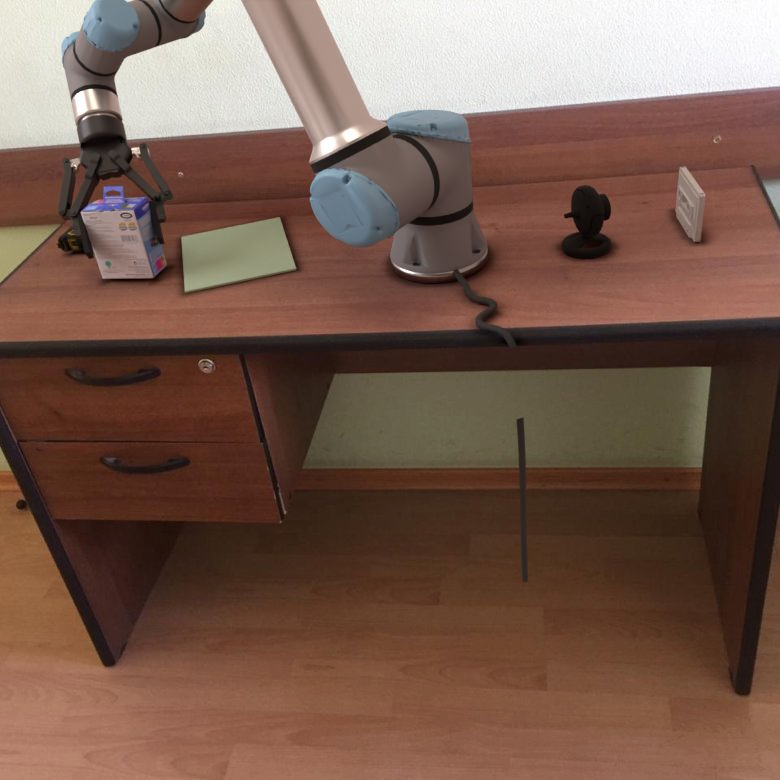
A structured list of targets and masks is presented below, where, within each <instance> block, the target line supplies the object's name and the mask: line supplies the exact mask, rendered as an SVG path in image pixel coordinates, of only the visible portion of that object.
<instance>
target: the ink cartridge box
mask: <svg viewBox="0 0 780 780" xmlns="http://www.w3.org/2000/svg"><path fill="white" fill-rule="evenodd" d="M113 191H115V192H118V193H120V194H119V195H108V193H110V192H113ZM102 197H103V198H102V199H94V200H93V201H92V202H89V203H88V205H87V207H85V208H84V209H83V210H82V211H81V215H82V218H83V221H84V224H85V227H86V230H87V233H88V236H89V239H90V242H91V245H92V250H93V255H94V258H95V260H96V264H97V265H98V270H99V272H100V275H101V278H102V279H103V280H110V279H111V280H112V279H113V280H115V279H116V280H117V279H120V280H121V279H154V278H156V276H158V274H159V273H161V272H162V271H163V270H164V269H165V268H166V267H168V262H167V258H166V256H165V253H164V249H163V244H159V242H158V240H157V237H156V232H155V228H154V223H153V218H152V213H151V209H150V204H149V201H150V200H149V197H148V196H140V197H125V186H124V185H107V186H103V194H102Z"/></svg>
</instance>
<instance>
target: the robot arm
mask: <svg viewBox="0 0 780 780" xmlns="http://www.w3.org/2000/svg"><path fill="white" fill-rule="evenodd" d="M240 1H241V4H242V5H243V7H244V9H245V11H246V13H247V16H248V17H249V20H250V21H251V23H252V25H253V27H254V29H255V31H256V34H257V35H258V38H259V39H260V41H261V43H262V45H263V47H264V50H265V51H266V53H267V56H268V57H269V60H270V61H271V64H272V65H273V67H274V70H275V72H276V74H277V75H278V78H279V79H280V82H281V84H282V85H283V88H284V90H285V92H286V94H287V96H288V98H289V100H290V102H291V103H292V106H293V108H294V110H295V112H296V114H297V115H298V118H299V120H300V122H301V124H302V126H303V128H304V130H305V132H306V134H307V136H308V139H309V140H310V142H311V144H312V150H311V154H310V157H309V161H308V163H309V165H310V168H311V171H312V172H313V173H314V176H315V177H314V178H313V180H312V182H311V184H310V187H309V194H310V197H309V202H310V206H311V210H312V212H313V214H314V216H315V217H316V219H317V221H318V222H319V224H320V225H321V226H322V228H323V229H324V230H325V231H326V232H327V233H328V234H329V235H330V236H331V237H333V238H334V239H336V241H339V242H343V243H344V244H345V245H348V246H350V247H354V248H369V247H372V246H374V245H376V244H379V243H380V242H382V241H384V240H386V239H390V238H392V237H393V238H392V243H391V248H390V254H389V256H390V258H389V259H390V265H391V269H392V271H393V272H394V273H395V274H396V275H397V276H399V277H400V278H402V279H404V280H408V281H411V282H415V283H423V284H439V283H446V282H447V283H448V282H453V281H457V282H458V283H459V285H460V286H461V287H462V289H463V292H464V293H465V295H466V296H467V298H469V299H470V300H471V301H472V302H474V303H476V304H481V305H486V306H489V307H487V308H485V309H484V310H482V311H481V312H479V313H478V314H477V315H476V317H475V318H474V321H475V325H476V326H477V328H479V329H480V330H482V331H486V332H491V333H495V334H497V335H498V336H501V337H502V338H503V339H504V340H505V342H506V344H507V345H508V348H510V349H516V348H517V347H518V346H517V343H516V340H515V339H514V337H513V336H512V334H511V333H510V332H509V331H508V330H507V329H505V328H504V327H502V326H499V325H496V324H493V323H487V322H485V321H483V320H485V319H487V318H488V317H489V316H491V315H493V314H494V313H495V312H496V311H497V309H498V303H497V301H496V300H494V298H491V297H486V296H482V295H478V294H476V293H475V292H474V291H473V290H472V288H471V286H470V285H469V282H468V281H467V280H466V278H467V277H469V276H471V275H473V274H476V273H477V272H479V271H480V270H481V269H482V268H484V267H485V265H486V264H487V262H488V260H489V250H488V249H489V247H488V243H487V240H486V238H485V235H484V232H483V230H482V228H481V226H480V222H479V220H478V218H477V215H476V214H475V209H474V195H473V194H474V192H473V177H472V175H473V174H472V158H471V157H472V155H471V143H472V140H471V138H470V131H469V125H468V120H467V119H466V118H465V117H464V116H463V115H462V114H460V113H458V112H454V111H450V110H445V109H415V110H407V111H402V112H397V113H394V114H392V115H390V116H389V117H388V118H387V121H383V120H380V119H378V118H375V117H374V116H372V115H371V114H370V111H369V110H368V108H367V106H366V104H365V101H364V99H363V96H362V95H361V92H360V90H359V88H358V86H357V84H356V82H355V80H354V78H353V75H352V73H351V71H350V70H349V67H348V65H347V63H346V61H345V59H344V57H343V54H342V53H341V50H340V48H339V45H338V44H337V42H336V40H335V37H334V35H333V33H332V32H331V29H330V26H329V25H328V23H327V21H326V18H325V16H324V13H323V12H322V9H321V7H320V5H319V2H318V1H317V0H240ZM213 2H214V0H130V1H127V0H94V1H93V2H92V4H91V6H90V7H89V9H88V11H87V12H86V14H85V15H84V17H83V19H82V20H83V21H82V23H81V26H80V29H79V30H78V31H72V32H71V33H70V34H69V36H65V37H64V39H63V40H62V41H61V46H60V47H61V63H62V67H63V69H64V74H65V78H66V82H67V87H68V88H67V89H68V92H69V97H70V101H71V102H70V103H71V108H72V114H73V119H74V124H75V126H76V132H77V137H78V142H79V148H80V155H79V156H78V157H77V158H72V159H70V158H69V157H67V156H66V157H63V158H62V160H61V163H62V167H63V175H62V180H61V181H62V182H61V188H60V193H59V198H58V199H59V200H58V205H57V214H58V215H59V216H60V218H61V219H62V220H63V221H71V226H72V225H73V230H74V234H75V235H76V237H77V238H78V239H82V242H83V247H84V250H83V252H84V254H85V255H86V257H87V258H88V259H89V260H92V259H95V254H94V251H93V248H92V245H91V242H90V239H89V236H88V233H87V230H86V227H85V224H84V221H83V218H82V215H81V211H82V210H83V209H84V208H85V207H87V206H88V205H89V204H90V201H91V198H92V196H93V194H94V192H95V190H96V188H97V187H98V186H99V183H100V181H101V180H102V181H107V180H110V179H112V178H113V179H118V178H122V176H123V175H124V176H125V177H126V178H127V180H129V181H131V182H132V183H133V184H134V185H135V186H136V187H137V188H138V189H139V190H140V191H141V192H142V193H144V194H145V196H146V197H147V198H148V199H149V200H148V201H149V204H150V209H151V213H152V218H153V223H154V228H155V232H156V237H157V240H158V242H159V244H161V245H164V244H166V243H165V239H164V234H163V229H162V226H161V225H162V223H163V224H164V223H166V222H167V216H166V210H165V206H164V204H165V203H166V202H167V201H171V200H172V199H173V198H174V195H173V193H172V191H171V188H170V187H169V185H168V183H167V181H166V180H165V179H164V177H163V175H162V174H161V172H160V171H159V169H158V168H157V165H156V164H155V163H154V162H153V160H152V157H151V151H150V150H149V147H148V146H147V144H146V143H145V142H142V143H140V144H139V146H136V147H130V145H129V143H128V139H127V133H126V129H125V124H124V122H123V120H124V119H123V114H122V110H121V105H120V101H119V96H118V92H117V86H116V81H115V78H116V75H117V73H118V72H119V70H120V68H121V66H122V65H123V63H124V61H125V59H126V58H128V57H130V56H134V55H138V54H140V53H142V52H146V51H148V50H151V49H154V48H157V47H160V46H163V45H167V44H169V43H172V42H176V41H178V40H184V39H188V38H189V37H191V36H192V35H193V34H196V33H199V32H200V31H201V30H202V29H204V26H205V22H206V21H205V18H206V17H207V14H206V10H207V9H208V8H209V6H210V5H211V4H212V3H213ZM134 157H136V158H137V160H138V161H140V162H143V164H144V166H145V167H146V169H147V171H148V173H149V174H150V175H151V178H153V180H154V182H155V183H156V185H157V186H158V188H159V190H160V191H157V190H155V188H154V187H152V185H151V184H150V183H149V182H148V181H146V180H145V178H143V177H142V176H141V175H140V174H139V173H138V172H137V171H136V170H135V169H134V168H133V167H132V166H131V165H130V164H131V162H132V160H133V158H134ZM81 167H83V168H84V169H85V170H86V171H85V173H84V178H83V181H82V182H81V185H80V187H79V189H78V192H77V194H76V196H75V198H74V193H75V186H76V181H77V174H78V173H79V172H80V168H81ZM73 199H74V201H73ZM516 430H517V431H516V433H517V450H518V451H517V452H518V477H519V479H518V480H519V482H518V485H519V522H520V523H519V525H520V527H519V528H520V531H519V532H520V558H521V559H520V563H521V564H520V565H521V581H522V582H523V583H529V566H528V565H529V560H528V559H529V557H528V556H529V555H528V503H527V501H528V500H527V499H528V498H527V495H528V494H527V462H526V461H527V458H526V457H527V454H526V433H525V418H524V417H520V418H516Z"/></svg>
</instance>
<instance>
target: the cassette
mask: <svg viewBox="0 0 780 780" xmlns="http://www.w3.org/2000/svg"><path fill="white" fill-rule="evenodd" d="M677 177H678V179H677V180H678V181H677V189H676V190H677V191H676V198H675V199H676V201H675V210H674V211H675V213H676V214H675V217H676V219H677V220H678V222H679V224H680V225H681V227H682V229H683V230H684V232H685V233H686V235H687V237H688V238H689V239H692V241H693V243H700V242H701V240H702V232H703V222H704V213H705V204H706V198H707V197H706V194H705V191H704V190H703V189H702V187H701V186H700V184H698V182H697V181H696V179H695V178H694V176H693V175H692V173H691V172H690V171H689V169H688V168H687V166H686V165H685V166H679V168H678V176H677Z"/></svg>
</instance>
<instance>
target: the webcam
mask: <svg viewBox="0 0 780 780" xmlns="http://www.w3.org/2000/svg"><path fill="white" fill-rule="evenodd" d="M611 215H612V205H611V202H610V199H609V197H608V196H607V194H605V193H598V191H597V190H596V189H595V188H594V187H593V186H591V185H589V184H588V185H586V184H584V185H580V186H577V187H576V188H575V189H574V190H573V192H572V195H571V199H570V211H569V212H566V213H564V214H563V217H564V219H565V220H567V219H572V220H573V223H574V226H575V227H576V229H577V231H576V232H572V233H569V234H568V235H566V236H565V237H564V238H563V239H562V240H561V249H562V251H563V252H565V254H567V255H569V256H571V257H574V258H578V259H579V258H580V259H593V258H597V257H601V256H603V255H605V254H607V253H608V252H609V251H610V249H611V247H612V241H611V238H610V237H609V236H608V235H606V234H604V233H602V232H601V231H602V229H603V226H604V222H606V221H609V219H610V218H611ZM591 243H599V244H600V245H598V246H595V247H588V248H582V247H583V246H586V245H588V244H591Z"/></svg>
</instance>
